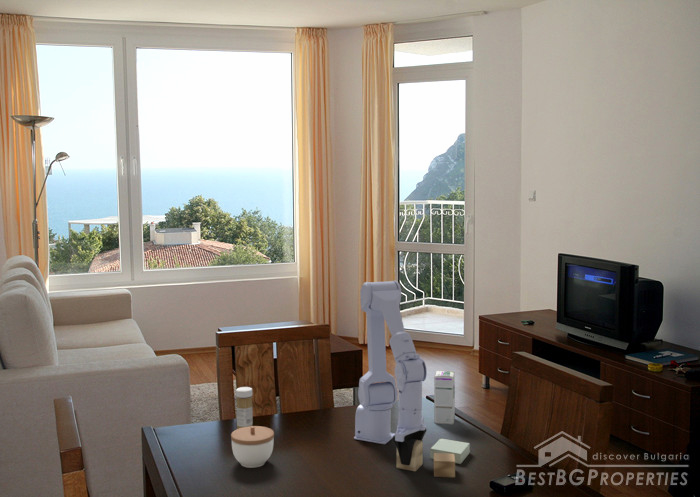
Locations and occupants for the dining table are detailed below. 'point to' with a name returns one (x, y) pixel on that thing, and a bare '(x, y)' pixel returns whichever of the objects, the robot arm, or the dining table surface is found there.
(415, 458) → the maple block
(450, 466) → the oak block
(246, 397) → the sprinkles bottle
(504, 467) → the dining table surface
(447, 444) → the plinth block
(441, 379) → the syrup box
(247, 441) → the lidded jar
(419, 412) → the robot arm
